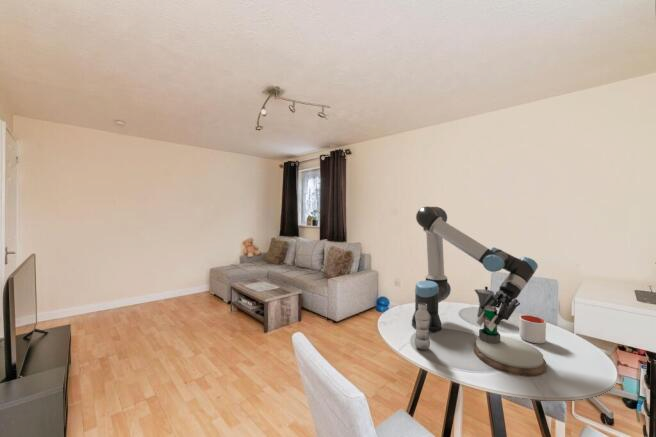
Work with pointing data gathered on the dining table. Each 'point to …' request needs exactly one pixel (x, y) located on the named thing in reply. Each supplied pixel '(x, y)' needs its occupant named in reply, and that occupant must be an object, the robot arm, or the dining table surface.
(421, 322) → the plastic bottle
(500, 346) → the dial
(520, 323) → the cup
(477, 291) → the coffeepot
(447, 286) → the robot arm
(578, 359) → the dining table surface
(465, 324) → the dining table surface
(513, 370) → the base
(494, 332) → the soda can
